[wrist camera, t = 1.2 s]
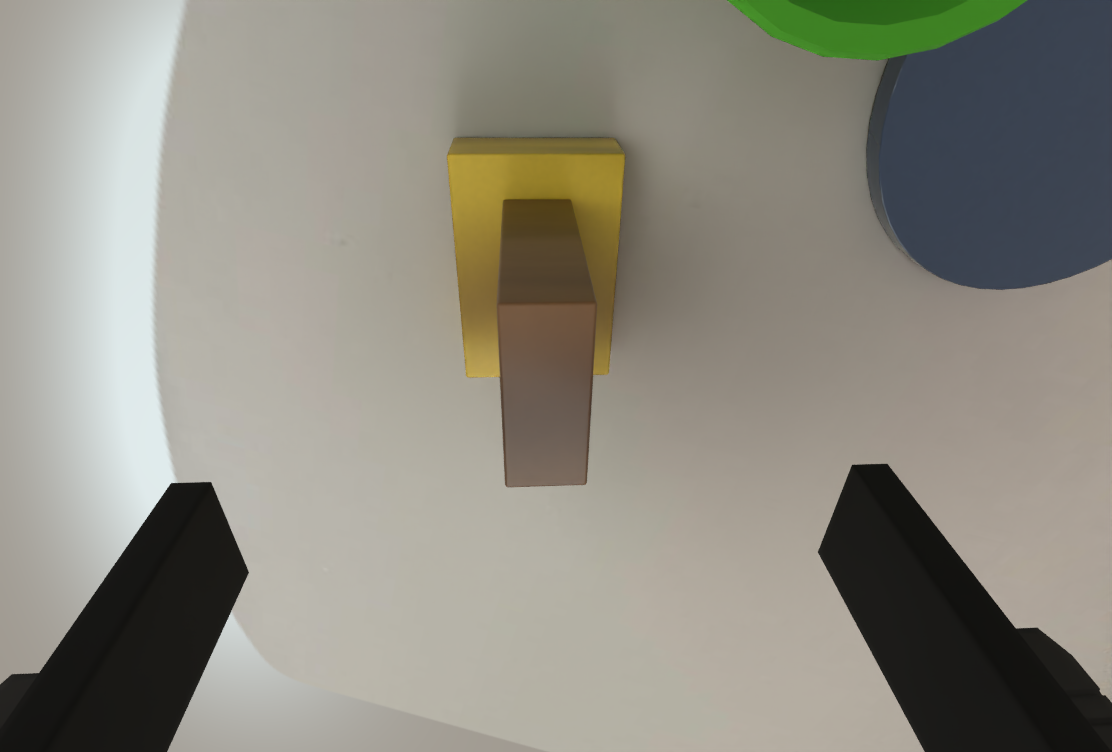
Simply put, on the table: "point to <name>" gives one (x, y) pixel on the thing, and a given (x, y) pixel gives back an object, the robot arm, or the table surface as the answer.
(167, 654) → the robot arm
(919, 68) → the plate
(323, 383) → the table surface
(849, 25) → the cup
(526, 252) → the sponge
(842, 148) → the table surface
